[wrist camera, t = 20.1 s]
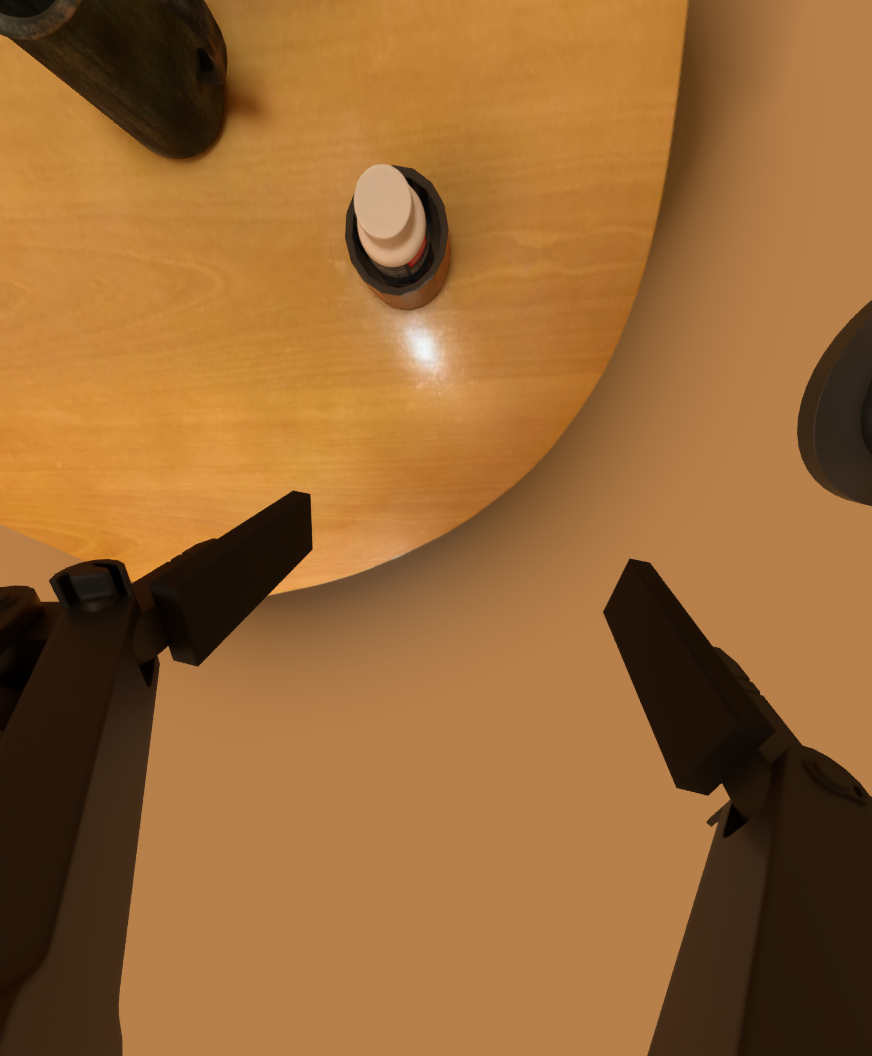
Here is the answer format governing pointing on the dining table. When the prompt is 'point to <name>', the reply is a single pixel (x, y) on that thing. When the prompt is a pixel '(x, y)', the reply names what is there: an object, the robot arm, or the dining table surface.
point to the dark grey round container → (439, 237)
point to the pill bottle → (392, 225)
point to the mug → (133, 63)
